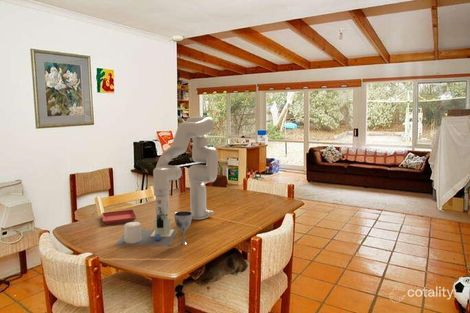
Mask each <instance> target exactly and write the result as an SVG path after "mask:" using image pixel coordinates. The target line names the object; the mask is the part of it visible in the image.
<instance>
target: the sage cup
mask: <svg viewBox="0 0 470 313" xmlns="http://www.w3.org/2000/svg"><path fill="white" fill-rule="evenodd" d="M153 224H154V226H153V227H154V230H155V234H160V235H167V234H169V233H170V232H171V230H170V229H171V217H170V216H169V215H167V216H165V215H163V228H157V216H155V217H154V223H153Z"/></svg>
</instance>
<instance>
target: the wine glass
mask: <svg viewBox="0 0 470 313" xmlns="http://www.w3.org/2000/svg"><path fill="white" fill-rule="evenodd" d="M192 220H193V219H192V213H191V211H189V210H182V211H181V210H180V211H176V212H175V213H174V221H175V226H176V228H178V229H179V230H180V231H181V235H182V241H180V242H179V245H187V244H188V242H187V241H185V235H186V234H185V233H186V231H187V230H188V229H189V228H190V226H191V223H192Z"/></svg>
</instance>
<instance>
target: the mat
mask: <svg viewBox="0 0 470 313" xmlns="http://www.w3.org/2000/svg"><path fill="white" fill-rule="evenodd" d="M170 230H171V232H170V233H169V234H167V235H161V239H160V240H159V241H157V240H155V238H154V236H155V235H156V234H155V229H154V230H151V229H150V230H149V229H148V230H147V229H146V230H145V229H144V230H142V229H141V232H142V239H141V241H140V242H136V243H126V242H124V234H123V235H122V236H121V237H120V238H119V239H118V240H117V241H116V242H115V243H114V246H170V245H171V244H172V242H173V240H174V238H175V237H176V234H177V232H178V230H175V229H171V228H170Z"/></svg>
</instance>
